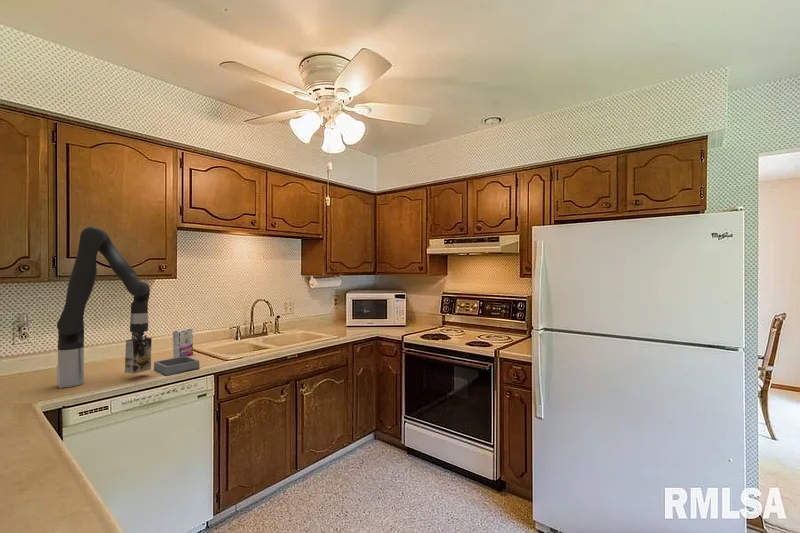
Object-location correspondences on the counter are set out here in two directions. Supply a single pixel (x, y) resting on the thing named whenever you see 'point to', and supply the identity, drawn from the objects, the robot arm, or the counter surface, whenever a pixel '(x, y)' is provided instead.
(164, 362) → the box
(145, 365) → the coffee box
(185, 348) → the candy bar box
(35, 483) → the counter surface
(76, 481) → the counter surface
